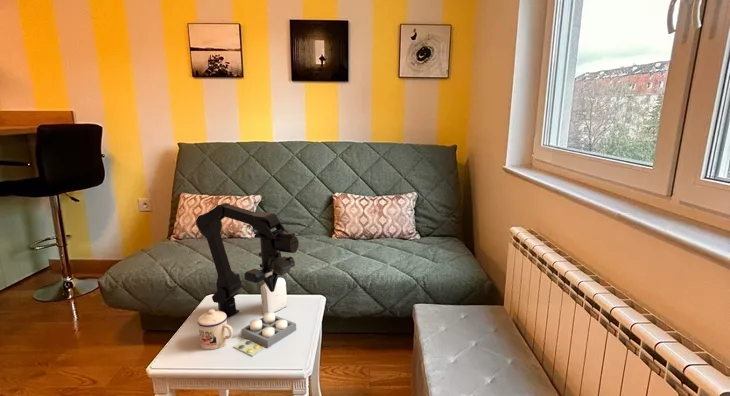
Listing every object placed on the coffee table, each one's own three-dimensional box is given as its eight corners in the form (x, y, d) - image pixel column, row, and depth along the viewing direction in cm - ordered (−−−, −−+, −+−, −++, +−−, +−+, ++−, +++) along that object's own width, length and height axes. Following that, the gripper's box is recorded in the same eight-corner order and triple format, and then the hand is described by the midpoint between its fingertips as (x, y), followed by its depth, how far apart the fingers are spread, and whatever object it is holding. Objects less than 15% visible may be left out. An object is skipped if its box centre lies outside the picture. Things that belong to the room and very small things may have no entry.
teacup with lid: (193, 347, 131) (190, 314, 129) (212, 333, 140) (209, 302, 137) (224, 354, 127) (221, 320, 125) (242, 339, 136) (239, 307, 133)
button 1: (247, 329, 138) (247, 322, 137) (256, 324, 141) (256, 318, 140) (255, 333, 135) (255, 326, 135) (264, 328, 139) (264, 321, 138)
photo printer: (267, 316, 151) (265, 285, 148) (260, 313, 153) (258, 282, 151) (289, 306, 158) (287, 276, 156) (281, 303, 161) (280, 274, 158)
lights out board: (227, 344, 133) (226, 337, 132) (270, 319, 148) (270, 313, 148) (253, 357, 126) (253, 349, 125) (296, 329, 141) (296, 323, 140)
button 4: (273, 330, 139) (272, 323, 139) (281, 325, 143) (281, 318, 142) (281, 333, 137) (281, 326, 137) (290, 328, 140) (289, 321, 140)
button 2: (260, 338, 134) (259, 331, 134) (269, 332, 138) (268, 325, 137) (268, 341, 132) (267, 334, 132) (277, 336, 135) (276, 329, 135)
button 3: (261, 322, 142) (260, 315, 142) (269, 317, 146) (269, 311, 145) (269, 325, 140) (268, 318, 140) (277, 320, 143) (277, 313, 143)
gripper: (264, 262, 129) (268, 307, 132) (304, 246, 144) (306, 287, 147) (241, 256, 135) (245, 299, 138) (282, 241, 150) (284, 280, 153)
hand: (272, 291), depth 144 cm, fingers closed
